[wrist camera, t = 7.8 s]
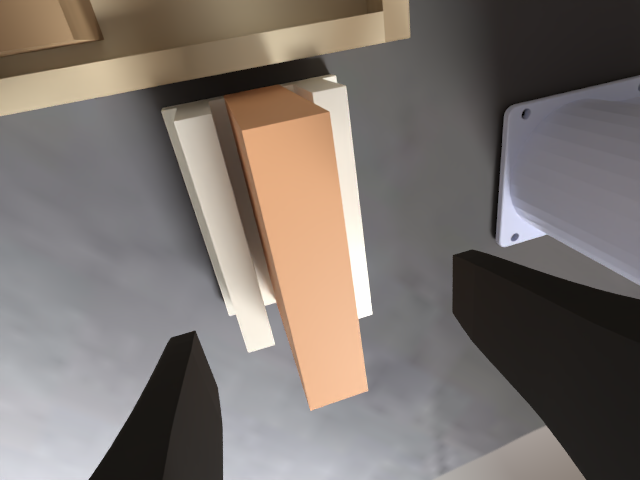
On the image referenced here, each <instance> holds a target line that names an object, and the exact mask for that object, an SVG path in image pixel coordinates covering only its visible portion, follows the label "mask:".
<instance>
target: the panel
mask: <svg viewBox="0 0 640 480" xmlns="http://www.w3.org/2000/svg"><path fill="white" fill-rule="evenodd" d="M223 96H224V100H225V104H226V108H227V112H228V116H229V120H230V124H231V128H232V131H233V135H234V139H235V143H236V147H237V151H238V155H239V159H240V163H241V167H242V170H243V174H244V178H245V182H246V186H247V190H248V194H249V198H250V202H251V205H252V209H253V213H254V217H255V221H256V225H257V229H258V233H259V237H260V240H261V244H262V248H263V252H264V256H265V260H266V264H267V268H268V272H269V276H270V279H271V283H272V287H273V291H274V295H275V299H276V302H277V306H278V309H279V312H280V315H281V318H282V322H283V325H284V328H285V331H286V334H287V337H288V341H289V344H290V347H291V350H292V353H293V357H294V360H295V363H296V366H297V369H298V372H299V376H300V379H301V382H302V385H303V388H304V392H305V395H306V398H307V401H308V404H309V408H310V411H311V410H314V409H317V408H320V407H323V406H325V405H328V404H331V403H334V402H337V401H340V400H343V399H346V398H349V397H351V396H354V395H357V394H360V393H363V392H366V391H368V386H367V379H366V372H365V365H364V357H363V350H362V343H361V335H360V328H359V321H358V314H357V306H356V299H355V292H354V285H353V277H352V270H351V263H350V256H349V248H348V241H347V234H346V227H345V219H344V212H343V205H342V197H341V190H340V183H339V176H338V168H337V161H336V154H335V147H334V139H333V132H332V125H331V118H330V112H329V111H328V110H326V109H324V108H322V107H320V106H318V105H316V104H314V103H312V102H311V101H309V100H307V99H305V98H303V97H301V96H299V95H297V94H296V93H294V92H292V91H290V90H288V89H286V88H284V87H282V86H280V85H279V84H278V85H273V86H268V87H263V88H258V89H253V90H248V91H243V92H238V93H233V94H228V95H223Z"/></svg>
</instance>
